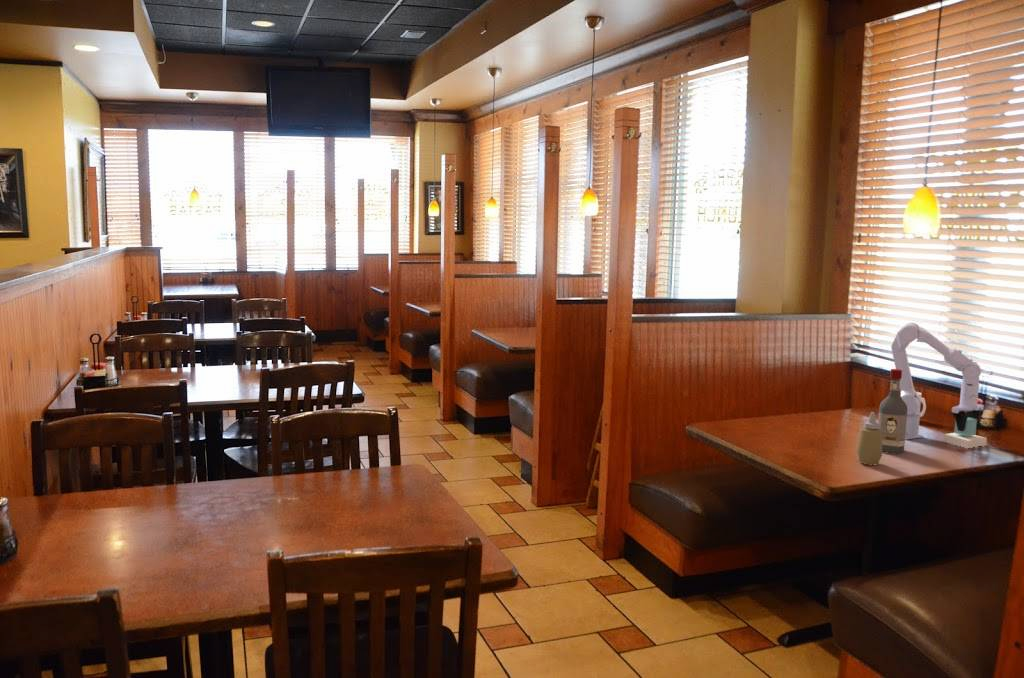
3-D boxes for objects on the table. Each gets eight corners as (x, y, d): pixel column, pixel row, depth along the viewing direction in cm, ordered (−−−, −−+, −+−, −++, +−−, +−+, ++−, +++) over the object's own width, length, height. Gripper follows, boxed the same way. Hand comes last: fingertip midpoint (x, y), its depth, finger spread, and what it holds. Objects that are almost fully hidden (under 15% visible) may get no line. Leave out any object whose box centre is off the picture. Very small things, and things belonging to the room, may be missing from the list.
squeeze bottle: (884, 463, 278) (889, 412, 275) (877, 468, 272) (881, 416, 269) (860, 458, 283) (864, 408, 280) (852, 463, 277) (856, 412, 274)
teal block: (966, 436, 299) (967, 420, 299) (954, 433, 304) (955, 417, 303) (975, 434, 301) (976, 419, 301) (963, 431, 306) (964, 416, 305)
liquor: (877, 445, 299) (883, 366, 295) (904, 449, 295) (910, 369, 291) (875, 451, 291) (881, 370, 287) (903, 455, 287) (910, 373, 283)
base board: (967, 448, 296) (968, 440, 296) (943, 441, 306) (944, 434, 305) (985, 445, 300) (986, 438, 300) (961, 439, 309) (962, 431, 309)
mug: (897, 419, 340) (900, 391, 338) (908, 418, 342) (911, 390, 340) (918, 425, 330) (921, 396, 329) (929, 423, 333) (932, 395, 331)
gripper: (965, 398, 294) (962, 434, 296) (992, 395, 299) (988, 430, 301) (948, 394, 300) (945, 429, 302) (975, 391, 306) (971, 426, 308)
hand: (965, 429), depth 302 cm, fingers closed on teal block, 5 cm apart
